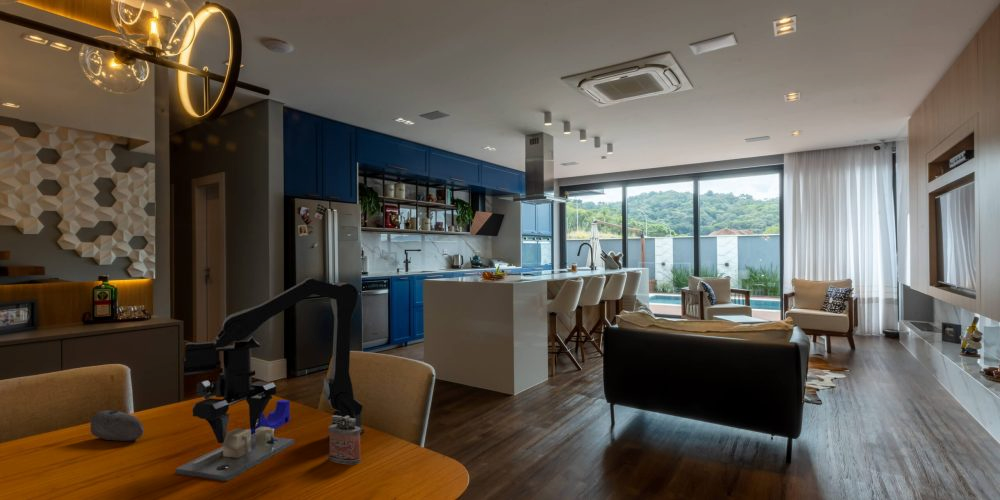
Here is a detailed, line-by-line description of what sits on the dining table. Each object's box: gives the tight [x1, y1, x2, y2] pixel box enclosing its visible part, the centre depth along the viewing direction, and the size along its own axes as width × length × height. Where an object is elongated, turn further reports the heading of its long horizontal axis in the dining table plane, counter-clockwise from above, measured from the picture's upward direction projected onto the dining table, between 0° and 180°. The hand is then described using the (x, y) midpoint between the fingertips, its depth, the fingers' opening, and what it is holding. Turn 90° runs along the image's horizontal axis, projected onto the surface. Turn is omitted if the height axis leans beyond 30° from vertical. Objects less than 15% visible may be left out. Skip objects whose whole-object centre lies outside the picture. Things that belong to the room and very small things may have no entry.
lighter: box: [328, 414, 362, 465], centre depth 107 cm, size 8×3×10 cm, turn 71°
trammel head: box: [222, 427, 251, 458], centre depth 108 cm, size 5×4×5 cm
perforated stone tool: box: [89, 409, 145, 442], centre depth 121 cm, size 15×5×7 cm, turn 74°
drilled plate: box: [175, 427, 295, 482], centre depth 109 cm, size 14×20×4 cm
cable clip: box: [249, 399, 291, 434], centre depth 127 cm, size 12×4×6 cm, turn 169°
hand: (237, 435), depth 109 cm, fingers open, 9 cm apart
